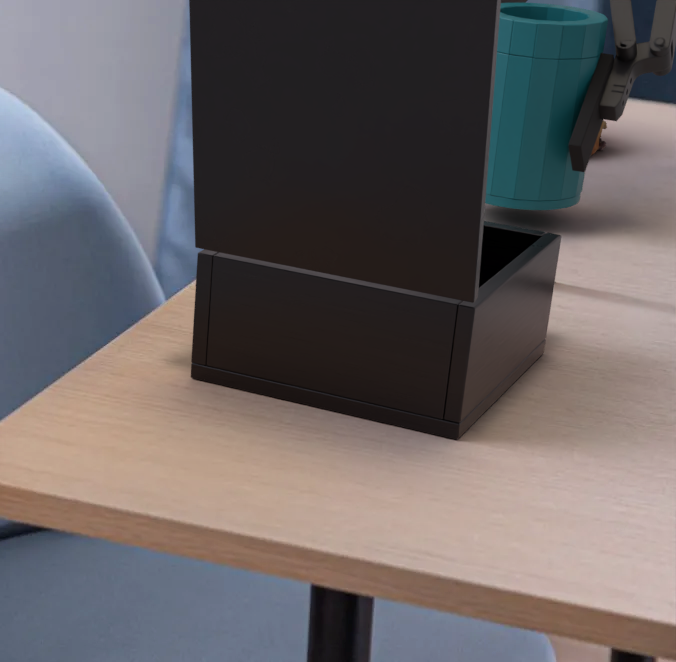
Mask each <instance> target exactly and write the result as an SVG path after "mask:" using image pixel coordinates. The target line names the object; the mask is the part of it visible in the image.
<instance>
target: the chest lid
mask: <svg viewBox="0 0 676 662" xmlns="http://www.w3.org/2000/svg"><path fill="white" fill-rule="evenodd" d="M188 5H189V6H188V9H189V10H188V11H189V42H190V43H189V50H190V85H191V87H190V89H191V93H190V94H191V126H192V127H191V131H192V166H193V167H192V169H193V170H192V171H193V173H192V174H193V208H194V209H193V213H194V214H193V215H194V247H195V249H201V250H204V249H205V250H210V251H215V252H220V253H225V254H230V255H235V256H240V257H245V258H251V259H256V260H261V261H266V262H271V263H276V264H281V265H286V266H291V267H296V268H301V269H306V270H311V271H316V272H321V273H326V274H331V275H336V276H341V277H346V278H351V279H356V280H361V281H366V282H371V283H376V284H381V285H386V286H392V287H397V288H402V289H407V290H412V291H417V292H422V293H427V294H432V295H437V296H442V297H447V298H452V299H457V300H462V301H467V302H472V303H473V302H474V301H475V300H476V299H477V298H478V290H479V277H480V264H481V251H482V238H483V225H484V221H485V211H486V204H485V200H486V187H487V174H488V161H489V148H490V135H491V122H492V110H493V97H494V84H495V71H496V58H497V45H498V32H499V20H500V7H501V0H188Z"/></svg>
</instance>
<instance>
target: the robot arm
mask: <svg viewBox="0 0 676 662" xmlns="http://www.w3.org/2000/svg"><path fill="white" fill-rule="evenodd" d="M528 1H529V0H501V3H528ZM609 6H610V14H611V15H610V16H611V23H612V30H613V39H614V48H615V55H614V54H612V53H604V52H603V53H601V55H600V58H599V60H598V63H597V66H596V69H595V71H594V74H593V77H592V80H591V83H590V85H589V88H588V91H587V94H586V97H585V99H584V102H583V105H582V108H581V111H580V113H579V116H578V119H577V122H576V125H575V127H574V130H573V133H572V136H571V139H570V141H569V144H568V146H569V152H570V158H571V165H572V170H573V171H579V172H585V173H586V170H587V168H588V165H589V162H590V159H591V156H592V155H591V153H592V151H593V148H594V145H595V142H596V139H597V136H598V133H599V131H600V128H601V125H602V122H603V120H604V121H613V122H617V121H618V120H620V118H621V117H622V116H623V115H624V112H625V108H626V105H627V103H628V100H629V97H630V93H631V91H632V88H633V86H634V82H635V81H636V79H637V78H638V77H640V76H642V75H645V74H650V73H651V74H653V75H655V76H657V77H658V76H659V77H664V76H666V75H668V74H670V72H671V71H672V68H673V63H674V58H675V52H676V0H656V2H655V7H654V13H653V18H652V24H651V30H650V35H649V41H644V42H638V43H637V37H636V36H637V35H636V28H635V23H634V20H635V19H634V14H633V13H634V12H633V5H632V0H609Z"/></svg>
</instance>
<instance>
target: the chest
mask: <svg viewBox="0 0 676 662" xmlns="http://www.w3.org/2000/svg"><path fill="white" fill-rule="evenodd" d="M561 242H562V235H561V234H559V233H553V232H546V231H544V230H537V229H532V228H526V227H521V226H515V225H509V224H504V223H498V222H494V221H488V220H484V225H483V238H482V251H481V264H480V277H479V290H478V298H477V299H476V300H475V301H474V302H473V303H472V302H467V301H462V300H457V299H452V298H447V297H442V296H437V295H432V294H427V293H422V292H417V291H412V290H407V289H402V288H397V287H392V286H386V285H381V284H376V283H371V282H366V281H361V280H356V279H351V278H346V277H341V276H336V275H331V274H326V273H321V272H316V271H311V270H306V269H301V268H296V267H291V266H286V265H281V264H276V263H271V262H266V261H261V260H256V259H251V258H245V257H240V256H235V255H230V254H225V253H220V252H215V251H210V250H205V249H201V250H200V251H199V252H197V258H196V275H195V276H196V277H195V290H194V291H195V294H194V309H193V327H192V343H191V344H192V345H191V358H190V359H191V361H190V362H191V364H190V378H191V379H195V380H199V381H203V382H208V383H212V384H216V385H220V386H225V387H229V388H233V389H237V390H242V391H247V392H250V393H254V394H259V395H264V396H267V397H272V398H277V399H280V400H285V401H288V402H289V401H290V402H294V403H298V404H302V405H307V406H311V407H315V408H319V409H324V410H328V411H332V412H336V413H340V414H345V415H350V416H354V417H359V418H362V419H367V420H371V421H376V422H379V423H384V424H388V425H393V426H395V427H396V426H397V427H400V428H405V429H409V430H414V431H417V432H423V433H427V434H431V435H436V436H440V437H444V438H449V439H453V440H459V439H460V437H462V435H464V434H465V432H467V431H468V429H469V428H470V427H471V426H473V425H474V423H475V422H476V421H478V420H479V418H480V417H482V416H483V414H484V413H485V412H486V411H487V410H488V409H489V408H490V407H492V406H493V404H494V403H495V402H496V401H498V399H499V398H500V397H501V396H502V395H503V394H504V393H506V391H508V389H509V388H510V387H511V386H512V385H513V384H514V383H515V382H516V381H517V380H518V379H519V378H520V377H521V376H523V374H525V372H526V371H527V370H528V369H529V368H530V367H531V366H532V365H533V364H534V363H535V362H536V361H537V360H538V359H539V358H540V357H541V356H542V355H543V354H544V353H545V347H546V341H547V340H546V338H547V335H548V327H549V321H550V314H551V308H552V301H553V295H554V289H555V282H556V275H557V268H558V261H559V256H560V250H561V249H560V248H561Z"/></svg>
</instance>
